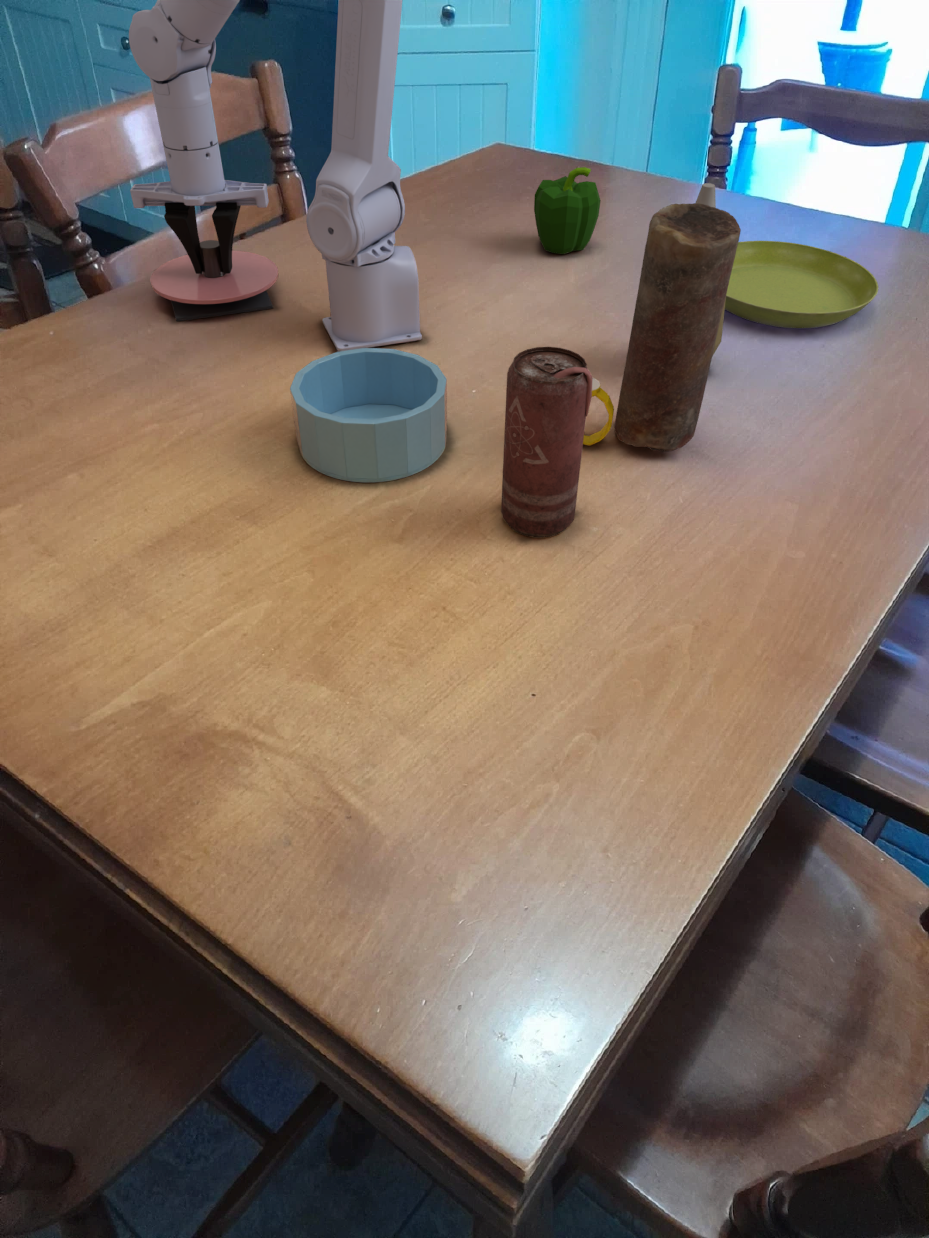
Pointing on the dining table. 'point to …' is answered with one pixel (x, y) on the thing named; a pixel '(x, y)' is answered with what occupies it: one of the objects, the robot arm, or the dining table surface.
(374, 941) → the dining table surface
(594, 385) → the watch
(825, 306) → the saucer
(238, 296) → the lid
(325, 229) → the robot arm
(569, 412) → the can
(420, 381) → the bowl
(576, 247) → the bell pepper
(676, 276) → the candle
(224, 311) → the mat
